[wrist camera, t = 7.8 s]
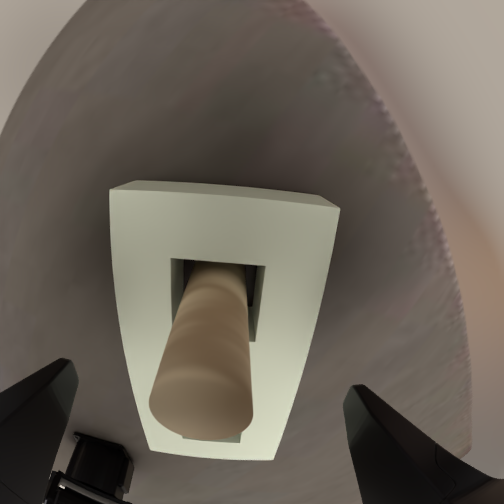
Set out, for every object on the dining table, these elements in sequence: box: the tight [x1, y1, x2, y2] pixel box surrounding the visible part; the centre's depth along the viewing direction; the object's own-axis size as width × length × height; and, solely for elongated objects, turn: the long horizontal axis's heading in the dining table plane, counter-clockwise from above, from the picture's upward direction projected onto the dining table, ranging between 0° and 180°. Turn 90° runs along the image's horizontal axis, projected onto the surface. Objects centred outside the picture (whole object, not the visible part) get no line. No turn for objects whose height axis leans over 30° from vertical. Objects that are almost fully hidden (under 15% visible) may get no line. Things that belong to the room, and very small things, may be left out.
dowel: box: [149, 260, 253, 440], centre depth 12 cm, size 3×3×10 cm
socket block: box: [109, 180, 340, 460], centre depth 17 cm, size 20×10×4 cm, turn 174°
